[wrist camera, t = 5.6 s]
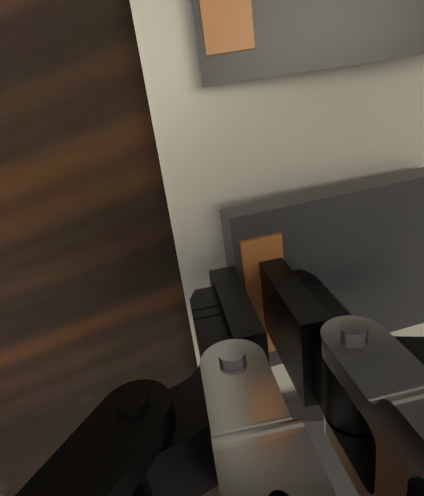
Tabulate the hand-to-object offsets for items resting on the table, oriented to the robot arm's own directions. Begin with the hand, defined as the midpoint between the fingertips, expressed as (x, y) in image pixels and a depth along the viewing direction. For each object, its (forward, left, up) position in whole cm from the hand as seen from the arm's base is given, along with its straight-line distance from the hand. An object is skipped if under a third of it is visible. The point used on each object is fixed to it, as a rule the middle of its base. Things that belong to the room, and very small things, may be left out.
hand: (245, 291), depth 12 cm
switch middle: (-2, -2, -1) cm, 3 cm away
